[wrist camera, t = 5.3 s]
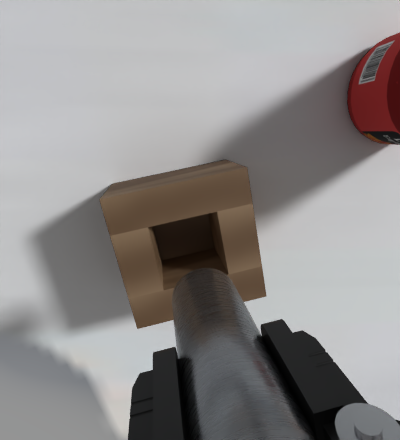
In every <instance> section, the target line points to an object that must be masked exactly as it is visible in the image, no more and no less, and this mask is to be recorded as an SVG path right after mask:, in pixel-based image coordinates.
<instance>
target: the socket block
mask: <svg viewBox="0 0 400 440" xmlns="http://www.w3.org/2000/svg"><path fill="white" fill-rule="evenodd" d="M99 200H100V204H101V207H102V210H103V214H104V217H105V220H106V224H107V227H108V231H109V234H110V237H111V241H112V244H113V248H114V251H115V254H116V258H117V261H118V265H119V268H120V271H121V275H122V278H123V282H124V285H125V288H126V292H127V295H128V298H129V302H130V305H131V309H132V312H133V315H134V319H135V322H136V326H137V329H139V328H143V327H147V326H151V325H155V324H159V323H163V322H166V321H170V320H174V318H173V308H172V293H173V290H174V288H175V286H176V284H177V282H178V281H179V280H180V279H181V278H182V277H183V276H184V275H186V274H187V273H189V272H191V271H193V270H196V269H200V268H213V269H217V270H220V271H222V272H223V273H225V274H226V275H227V276H229V278H230V279H231V280H232V282H233V283H234V285H235V287H236V289H237V291H238V293H239V295H240V296H241V298H242V300H243V302H245V301H249V300H253V299H257V298H261V297H265V296H266V291H265V284H264V277H263V270H262V264H261V257H260V250H259V243H258V237H257V230H256V223H255V216H254V210H253V203H252V196H251V190H250V183H249V176H248V169H247V167H245V166H242V165H239V164H236V163H234V162H231V161H228V160H221V161H217V162H212V163H207V164H203V165H198V166H193V167H189V168H184V169H179V170H175V171H170V172H165V173H161V174H156V175H151V176H146V177H142V178H137V179H132V180H128V181H123V182H118V183H114V184H112V185H111V186H110V187H109V188H108V190H107V191H106V192H105V193H104V194H103V196H102V197H101V198H100V199H99Z"/></svg>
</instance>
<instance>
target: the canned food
mask: <svg viewBox="0 0 400 440" xmlns="http://www.w3.org/2000/svg"><path fill="white" fill-rule="evenodd" d="M347 103H348V110H349V114H350V117H351V120H352V122H353V123H354V125H355V127H356V128H357V129H358V130H359V131H360V132H361V134H363V135H365V136H366V137H368V138H369V139H371V140H373V141H375V142H378V143H382V144H397V145H400V33H397V34H395V35H393V36H390V37H388V38H386V39H384V40H382V41H381V42H379V43H377V44H376V45H375V46H374V47H373V48H372V49H371V50H370V51H369V52H368V53H367V54H366V55H364V57H363V58H362V59H361V61H360V62H359V63H358V65H357V66H356V68H355V70H354V72H353V74H352V77H351V80H350V83H349V88H348V100H347Z"/></svg>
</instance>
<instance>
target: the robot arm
mask: <svg viewBox="0 0 400 440" xmlns="http://www.w3.org/2000/svg"><path fill="white" fill-rule="evenodd" d="M261 333H262V338H263V339H264V341H265V343H266V345H267V347H268V349H269V351H270V352H271V354H272V356H273V358H274V360H275V362H276V364H277V365H278V367H279V369H280V371H281V373H282V375H283V377H284V379H285V380H286V382H287V384H288V386H289V388H290V390H291V392H292V393H293V395H294V397H295V399H296V401H297V403H298V405H299V406H300V408H301V410H302V412H303V414H304V416H305V418H306V420H307V421H308V423H309V425H310V427H311V429H312V431H313V433H314V434H315V436H316V438H317V440H400V421H398V420H395V419H394V418H393V417H392V416H391V415H389V414H388V413H387V412H385V411H384V410H382V409H380V408H378V407H376V406H373V405H370V404H368V403H367V402H366V401H365V400H364V398H363V397H362V396H361V394H360V393H359V392H358V391H357V389H356V388H355V387H354V386H353V384H352V383H351V382H350V381H349V379H348V378H347V377H346V376H345V374H344V373H343V372H342V371H341V369H340V368H339V367H338V366H337V364H336V363H335V362H333V359H332V358H331V357H330V356H329V354H328V353H327V352H326V351H325V349H324V348H323V347H322V346H321V344H320V343H319V342H318V341H317V339H316V338H314V337H312V336H311V335H309V334H307V333H306V332H304V331H298V332H294V333H292V332H291V330H290V329H289V327H288V326H287V324H286V323H285V322H284V320H282V319H280V320H277V321H273V322H269V323H265V324H261ZM128 440H187V431H186V422H185V413H184V404H183V395H182V386H181V377H180V368H179V359H178V355H177V351H176V348H175V347H172V348H169V349H165V350H161V351H157V352H154V353H153V370H151V371H147V372H143V373H140V374H139V376H138V378H137V380H136V382H135V384H134V386H133V387H132V398H131V409H130V421H129V433H128Z"/></svg>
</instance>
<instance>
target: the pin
mask: <svg viewBox="0 0 400 440" xmlns="http://www.w3.org/2000/svg"><path fill="white" fill-rule="evenodd" d="M172 308H173V318H174V327H175V336H176V346H177V355H178V359H179V368H180V377H181V386H182V395H183V404H184V413H185V422H186V431H187V440H317V438H316V436H315V434H314V433H313V431H312V429H311V427H310V425H309V423H308V421H307V420H306V418H305V416H304V414H303V412H302V410H301V408H300V406H299V405H298V403H297V401H296V399H295V397H294V395H293V393H292V392H291V390H290V388H289V386H288V384H287V382H286V380H285V379H284V377H283V375H282V373H281V371H280V369H279V367H278V365H277V364H276V362H275V360H274V358H273V356H272V354H271V352H270V351H269V349H268V347H267V345H266V343H265V341H264V339H263V338H262V336H261V334H260V332H259V330H258V328H257V326H256V324H255V323H254V321H253V319H252V317H251V315H250V313H249V311H248V310H247V308H246V306H245V304H244V302H243V300H242V298H241V296H240V295H239V293H238V291H237V289H236V287H235V285H234V283H233V282H232V280H231V279H230V278H229V276H227V275H226V274H225V273H223V272H222V271H220V270H217V269H213V268H200V269H196V270H193V271H191V272H189V273H187V274H186V275H184V276H183V277H182V278H181V279H180V280H179V281H178V282H177V284H176V286H175V288H174V290H173V293H172Z"/></svg>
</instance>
